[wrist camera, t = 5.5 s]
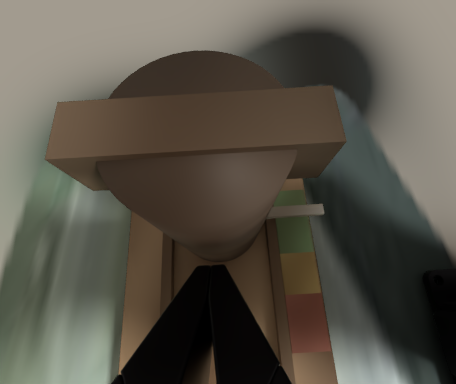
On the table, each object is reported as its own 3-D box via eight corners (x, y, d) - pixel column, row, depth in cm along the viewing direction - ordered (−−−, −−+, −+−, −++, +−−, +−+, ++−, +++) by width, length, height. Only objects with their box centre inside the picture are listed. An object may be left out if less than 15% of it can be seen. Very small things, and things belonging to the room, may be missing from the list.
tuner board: (295, 166, 16) (301, 154, 14) (341, 446, 11) (358, 472, 10) (140, 176, 16) (131, 165, 14) (120, 459, 11) (102, 486, 10)
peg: (308, 178, 14) (416, 29, 6) (322, 256, 13) (494, 207, 4) (166, 186, 14) (69, 51, 6) (163, 265, 13) (27, 234, 4)
